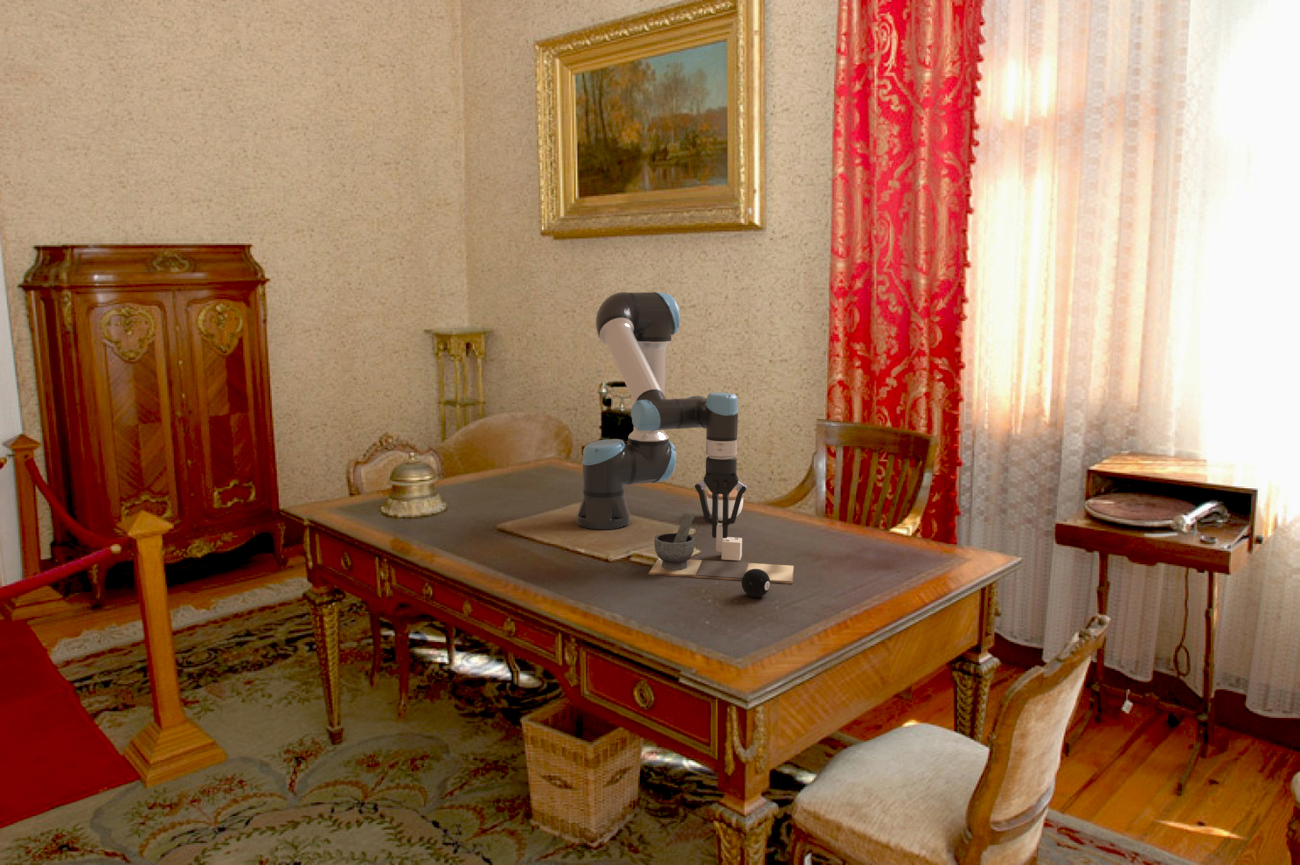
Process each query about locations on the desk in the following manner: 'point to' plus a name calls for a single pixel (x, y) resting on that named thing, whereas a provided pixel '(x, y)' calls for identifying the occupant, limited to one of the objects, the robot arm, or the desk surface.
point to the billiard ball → (755, 583)
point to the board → (726, 570)
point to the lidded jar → (720, 503)
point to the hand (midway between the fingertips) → (719, 550)
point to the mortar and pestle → (676, 546)
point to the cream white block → (731, 548)
